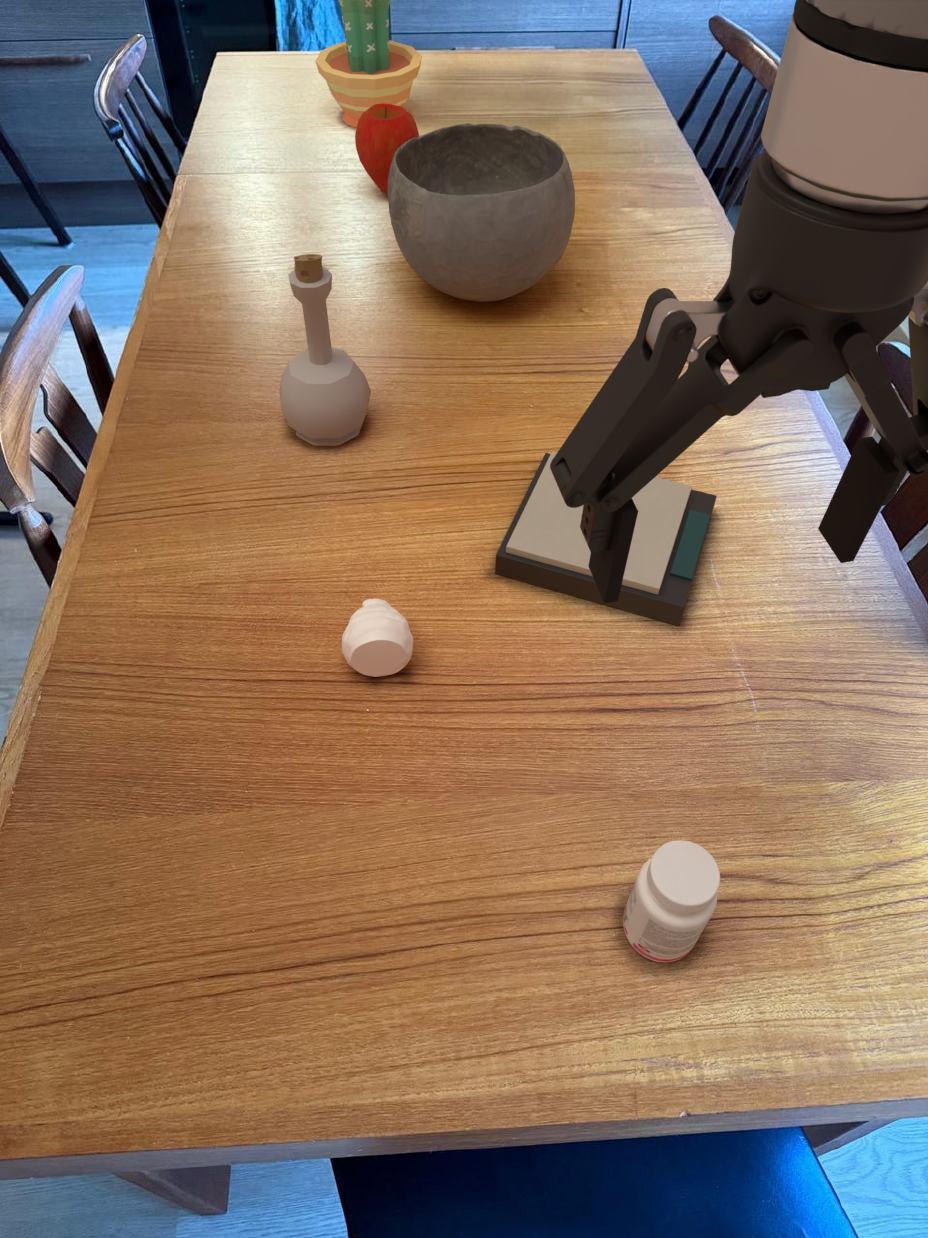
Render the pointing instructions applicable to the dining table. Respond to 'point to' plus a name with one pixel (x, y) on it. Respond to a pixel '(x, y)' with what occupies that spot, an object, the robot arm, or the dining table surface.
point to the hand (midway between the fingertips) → (721, 564)
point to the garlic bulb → (377, 639)
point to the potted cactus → (367, 61)
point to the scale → (658, 557)
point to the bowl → (481, 208)
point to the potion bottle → (321, 368)
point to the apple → (382, 139)
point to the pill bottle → (672, 901)
